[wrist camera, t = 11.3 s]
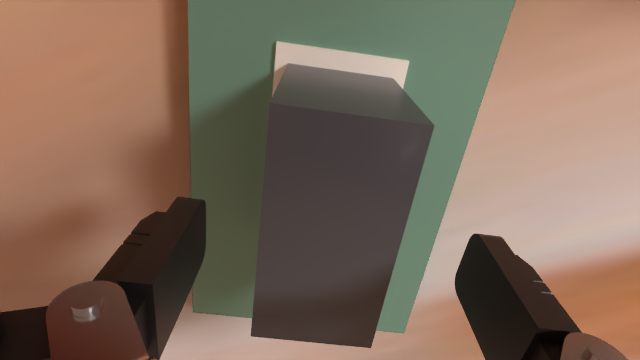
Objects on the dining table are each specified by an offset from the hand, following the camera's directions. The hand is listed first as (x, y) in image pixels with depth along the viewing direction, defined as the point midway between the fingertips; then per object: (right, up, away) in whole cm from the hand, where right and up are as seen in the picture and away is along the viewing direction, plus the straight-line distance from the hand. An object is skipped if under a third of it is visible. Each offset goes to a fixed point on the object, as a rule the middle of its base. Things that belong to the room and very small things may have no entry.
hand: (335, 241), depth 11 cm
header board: (0, +3, +7) cm, 8 cm away
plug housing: (0, +3, +5) cm, 6 cm away
